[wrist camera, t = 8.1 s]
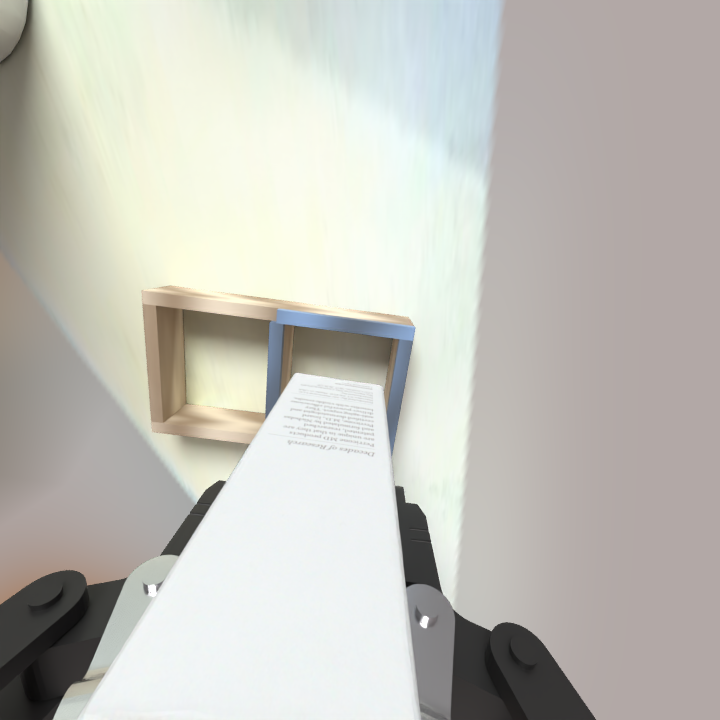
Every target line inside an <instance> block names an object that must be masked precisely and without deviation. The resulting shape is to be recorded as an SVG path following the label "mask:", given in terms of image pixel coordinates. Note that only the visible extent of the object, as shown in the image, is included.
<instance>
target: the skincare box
mask: <svg viewBox="0 0 720 720" xmlns="http://www.w3.org/2000/svg"><path fill="white" fill-rule="evenodd" d="M77 720H421V714H420V706H419V698H418V689H417V679H416V670H415V661H414V652H413V644H412V635H411V627H410V618H409V609H408V601H407V592H406V583H405V575H404V566H403V554H402V546H401V537H400V530H399V520H398V511H397V502H396V494H395V484H394V475H393V466H392V458H391V449H390V441H389V432H388V423H387V414H386V406H385V398H384V389H383V387H382V386H380V385H378V384H370V383H362V382H355V381H348V380H341V379H334V378H328V377H322V376H315V375H309V374H302V373H295V374H294V375H293V377H292V378H291V380H290V381H289V383H288V384H287V386H286V388H285V389H284V391H283V393H282V394H281V396H280V397H279V399H278V400H277V402H276V404H275V405H274V407H273V408H272V410H271V412H270V413H269V415H268V416H267V418H266V419H265V421H264V423H263V424H262V426H261V427H260V429H259V431H258V432H257V434H256V435H255V437H254V438H253V440H252V442H251V443H250V445H249V446H248V448H247V449H246V451H245V452H244V454H243V456H242V457H241V459H240V461H239V462H238V464H237V465H236V467H235V468H234V470H233V472H232V473H231V475H230V477H229V478H228V480H227V481H226V483H225V485H224V486H223V488H222V489H221V491H220V492H219V494H218V496H217V497H216V499H215V500H214V502H213V503H212V505H211V506H210V508H209V510H208V511H207V513H206V515H205V516H204V518H203V520H202V521H201V523H200V524H199V526H198V527H197V529H196V530H195V532H194V533H193V535H192V537H191V538H190V540H189V542H188V543H187V545H186V546H185V548H184V550H183V551H182V553H181V554H180V556H179V557H178V559H177V560H176V562H175V564H174V565H173V567H172V568H171V570H170V572H169V573H168V575H167V576H166V578H165V580H164V581H163V583H162V585H161V586H160V588H159V590H158V591H157V593H156V595H155V596H154V598H153V599H152V601H151V602H150V604H149V605H148V607H147V608H146V610H145V611H144V613H143V615H142V616H141V618H140V620H139V621H138V623H137V624H136V626H135V628H134V629H133V631H132V633H131V634H130V636H129V638H128V639H127V641H126V642H125V644H124V646H123V647H122V649H121V650H120V652H119V653H118V655H117V656H116V658H115V659H114V661H113V663H112V664H111V666H110V667H109V669H108V670H107V672H106V673H105V675H104V677H103V678H102V680H101V681H100V683H99V684H98V686H97V688H96V689H95V691H94V692H93V694H92V695H91V697H90V699H89V700H88V702H87V703H86V705H85V706H84V708H83V710H82V711H81V713H80V714H79V716H78V718H77Z"/></svg>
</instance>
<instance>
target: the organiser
mask: <svg viewBox="0 0 720 720" xmlns="http://www.w3.org/2000/svg"><path fill="white" fill-rule="evenodd" d="M142 304H143V317H144V330H145V344H146V357H147V371H148V384H149V398H150V411H151V425H152V432H156V433H164V434H172V435H181V436H189V437H197V438H205V439H214V440H222V441H230V442H238V443H246V444H250V443H251V442H252V440H253V438H254V437H255V435H256V434H257V432H258V431H259V429H260V427H261V426H262V424H263V423H264V421H265V419H266V418H267V416H268V415H269V413H270V412H271V410H272V408H273V407H274V405H275V404H276V402H277V400H278V399H279V397H280V396H281V394H282V393H283V391H284V389H285V388H286V386H287V384H288V383H289V381H290V380H291V367H292V352H293V338H294V326H302V327H310V328H317V329H325V330H333V331H340V332H348V333H356V334H364V335H371V336H379V337H387V338H393V342H392V348H391V354H390V360H389V366H388V372H387V378H386V384H385V390H384V398H385V406H386V414H387V423H388V432H389V441H390V449H391V458H392V452H393V447H394V441H395V436H396V431H397V425H398V420H399V414H400V409H401V403H402V398H403V393H404V387H405V382H406V376H407V371H408V365H409V360H410V355H411V349H412V344H413V338H414V333H415V327H414V325H413V324H412V322H411V320H410V319H409V317H404V316H396V315H389V314H381V313H374V312H366V311H358V310H351V309H343V308H336V307H328V306H320V305H313V304H305V303H298V302H290V301H282V300H275V299H267V298H260V297H252V296H244V295H237V294H229V293H222V292H214V291H206V290H199V289H191V288H184V287H176V286H165V287H159V288H153V289H147V290H142ZM183 309H186V310H194V311H202V312H209V313H217V314H225V315H232V316H240V317H248V318H255V319H263V320H271V322H270V324H269V346H268V368H267V391H266V413H265V414H264V413H256V412H248V411H240V410H232V409H224V408H215V407H207V406H199V405H191V404H186V385H185V358H184V331H183Z"/></svg>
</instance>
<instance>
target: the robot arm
mask: <svg viewBox="0 0 720 720" xmlns="http://www.w3.org/2000/svg"><path fill="white" fill-rule="evenodd" d="M27 7H28V0H0V62H1V61H2V60H3V59H5V58H6V57H7V56H8V55H9V54H10V53H11V52H12V50H13V49H14V47H15V46H16V44H17V43H18V41H19V40H20V37H21V34H22V31H23V28H24V25H25V22H26V15H27ZM225 483H226V481H220V480H219V481H218V482H216V483H215V484H213V485H212V486H211V487H209V488H208V489H206V490H205V492H204V493H203V495H202V496H201V498H200V499H199V500H198V502H197V505H195V506H194V508H193V509H192V511H191V512H190V515H188V516H187V518H186V519H185V521H184V522H183V523H182V525H181V526H180V528H179V529H178V531H177V532H176V533H175V535H174V536H173V538H172V539H171V541H170V542H169V544H168V545H167V546H166V548H165V549H164V551H163V552H162V554H161V555H160V556H159V557H155V558H152V559H150V560H148V561H146V562H144V563H143V564H141V565H140V566H139V567H137V568H136V569H135V570H134V571H133V572H132V573H131V574H130V575H129V577H128V578H125V579H121V580H116V581H111V582H105V583H99V584H94V585H88V586H87V583H86V579H85V577H84V575H83V574H81V573H80V572H77V571H72V570H71V571H70V570H66V571H60V572H55V573H52V574H49V575H46V576H44V577H42V578H40V579H38V580H36V581H34V582H32V583H31V584H29V585H28V586H26V587H25V588H23V589H22V590H21V591H19V592H18V593H16V594H15V595H13V596H12V597H11V598H9V599H8V600H6V601H5V602H4V603H2V604H1V605H0V720H77V718H78V716H79V714H80V713H81V711H82V710H83V708H84V706H85V705H86V703H87V702H88V700H89V699H90V697H91V695H92V694H93V692H94V691H95V689H96V688H97V686H98V684H99V683H100V681H101V680H102V678H103V677H104V675H105V673H106V672H107V670H108V669H109V667H110V666H111V664H112V663H113V661H114V659H115V658H116V656H117V655H118V653H119V652H120V650H121V649H122V647H123V646H124V644H125V642H126V641H127V639H128V638H129V636H130V634H131V633H132V631H133V629H134V628H135V626H136V624H137V623H138V621H139V620H140V618H141V616H142V615H143V613H144V611H145V610H146V608H147V607H148V605H149V604H150V602H151V601H152V599H153V598H154V596H155V595H156V593H157V591H158V590H159V588H160V586H161V585H162V583H163V581H164V580H165V578H166V576H167V575H168V573H169V572H170V570H171V568H172V567H173V565H174V564H175V562H176V560H177V559H178V557H179V556H180V554H181V553H182V551H183V550H184V548H185V546H186V545H187V543H188V542H189V540H190V538H191V537H192V535H193V533H194V532H195V530H196V529H197V527H198V526H199V524H200V523H201V521H202V520H203V518H204V516H205V515H206V513H207V511H208V510H209V508H210V506H211V505H212V503H213V502H214V500H215V499H216V497H217V496H218V494H219V492H220V491H221V489H222V488H223V486H224V485H225ZM395 494H396V502H397V511H398V520H399V530H400V537H401V546H402V554H403V566H404V575H405V583H406V592H407V601H408V609H409V618H410V627H411V635H412V644H413V652H414V661H415V670H416V679H417V689H418V698H419V706H420V714H421V720H596V719H595V717H594V716H593V715H592V713H591V712H590V710H589V709H588V707H587V706H586V705H585V703H584V702H583V700H582V699H581V698H580V696H579V694H578V693H577V691H576V690H575V689H574V688H573V686H572V684H571V683H570V681H569V680H568V679H567V677H566V676H565V674H564V673H563V671H562V670H561V668H560V667H559V666H558V664H557V663H556V661H555V660H554V658H553V657H552V655H551V654H550V653H549V651H548V650H547V648H546V647H545V646H544V644H543V643H542V642H541V641H540V640H539V639H538V638H537V637H536V636H535V635H534V634H533V633H532V632H530V631H528V630H527V629H526V628H524V627H522V626H520V625H517V624H514V623H507V622H506V623H501V624H498V625H497V626H495V628H494V629H493V630H492V631H490V630H487V629H485V628H483V627H481V626H478V625H476V624H474V623H472V622H470V621H468V620H466V619H464V618H463V617H462V616H460V615H459V614H458V613H457V612H455V611H454V610H453V609H452V606H451V604H450V602H449V601H448V600H447V598H446V597H445V596H444V595H443V593H442V590H441V587H440V582H439V577H438V572H437V568H436V563H435V558H434V553H433V549H432V544H431V539H430V534H429V532H428V525H427V520H426V516H425V515H424V513H423V512H422V510H421V509H420V507H419V506H418V505H417V504H411V503H406V502H405V495H404V489H403V487H400V486H395Z"/></svg>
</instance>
